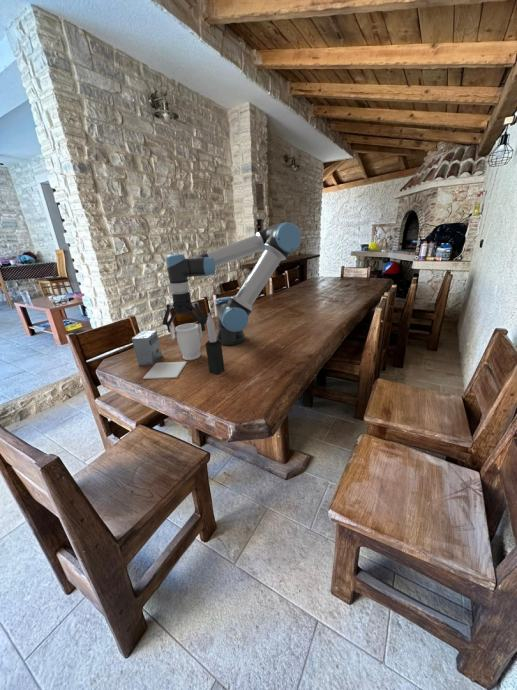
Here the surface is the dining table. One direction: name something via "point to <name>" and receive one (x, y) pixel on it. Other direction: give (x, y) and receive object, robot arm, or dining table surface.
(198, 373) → the dining table surface
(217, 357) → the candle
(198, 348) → the jar
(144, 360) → the block
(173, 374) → the mat
